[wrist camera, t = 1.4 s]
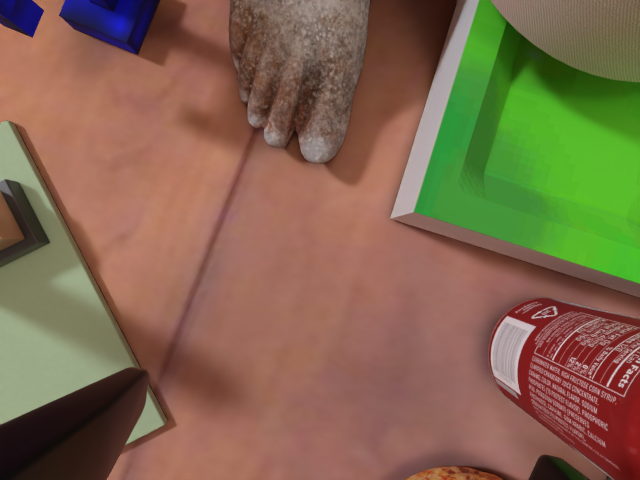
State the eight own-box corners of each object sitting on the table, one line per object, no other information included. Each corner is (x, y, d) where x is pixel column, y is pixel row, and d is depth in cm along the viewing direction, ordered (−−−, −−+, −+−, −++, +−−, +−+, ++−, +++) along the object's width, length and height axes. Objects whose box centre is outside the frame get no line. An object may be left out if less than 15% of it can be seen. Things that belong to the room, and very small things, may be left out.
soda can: (463, 376, 22) (641, 530, 10) (510, 277, 23) (738, 317, 11) (559, 422, 23) (842, 625, 11) (605, 324, 23) (936, 416, 11)
